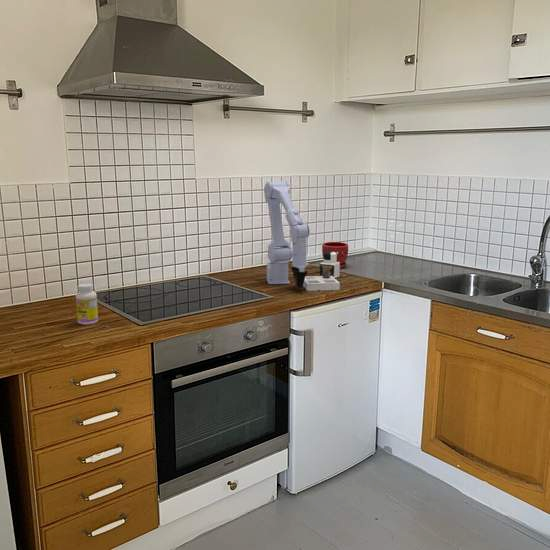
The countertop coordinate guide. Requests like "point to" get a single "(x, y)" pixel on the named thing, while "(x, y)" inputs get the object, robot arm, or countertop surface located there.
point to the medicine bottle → (330, 264)
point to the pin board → (321, 281)
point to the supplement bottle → (86, 305)
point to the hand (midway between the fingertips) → (298, 285)
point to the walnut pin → (296, 286)
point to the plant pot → (336, 248)
